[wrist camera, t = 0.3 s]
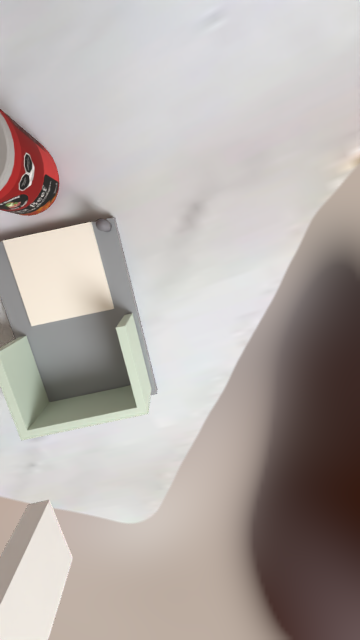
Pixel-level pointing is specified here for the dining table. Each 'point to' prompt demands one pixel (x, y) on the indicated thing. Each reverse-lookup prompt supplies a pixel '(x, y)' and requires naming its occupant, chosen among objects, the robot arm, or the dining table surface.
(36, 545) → the robot arm
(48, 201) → the canned food
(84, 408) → the housing
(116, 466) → the dining table surface
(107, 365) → the base
